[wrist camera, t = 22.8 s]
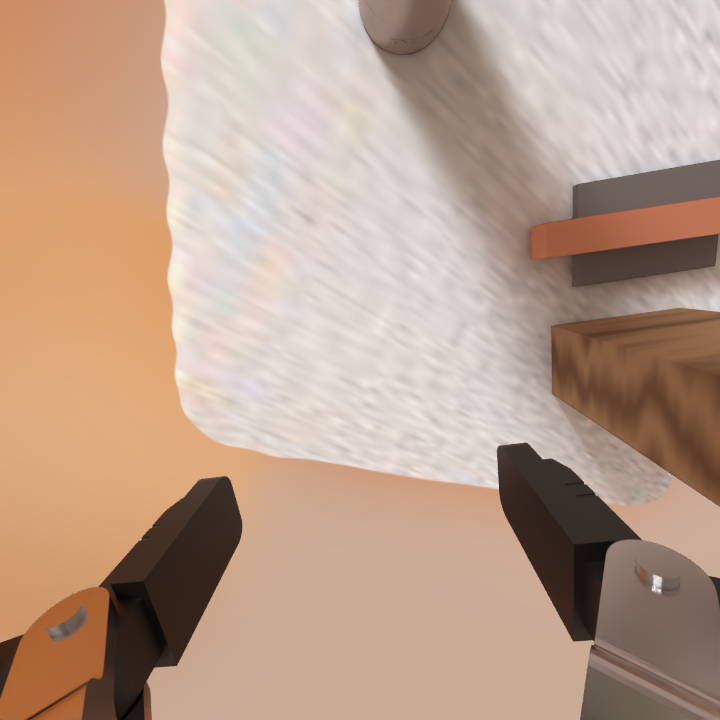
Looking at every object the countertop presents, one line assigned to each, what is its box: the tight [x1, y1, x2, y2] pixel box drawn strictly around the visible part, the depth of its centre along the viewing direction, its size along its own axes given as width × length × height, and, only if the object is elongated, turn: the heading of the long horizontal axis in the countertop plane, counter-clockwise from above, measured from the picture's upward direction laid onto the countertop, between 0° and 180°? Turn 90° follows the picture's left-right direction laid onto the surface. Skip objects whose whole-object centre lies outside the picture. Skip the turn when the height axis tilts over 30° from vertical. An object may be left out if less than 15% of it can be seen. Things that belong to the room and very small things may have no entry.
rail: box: [531, 197, 720, 260], centre depth 35 cm, size 4×22×4 cm, turn 98°
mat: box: [573, 160, 720, 286], centre depth 37 cm, size 11×15×1 cm
